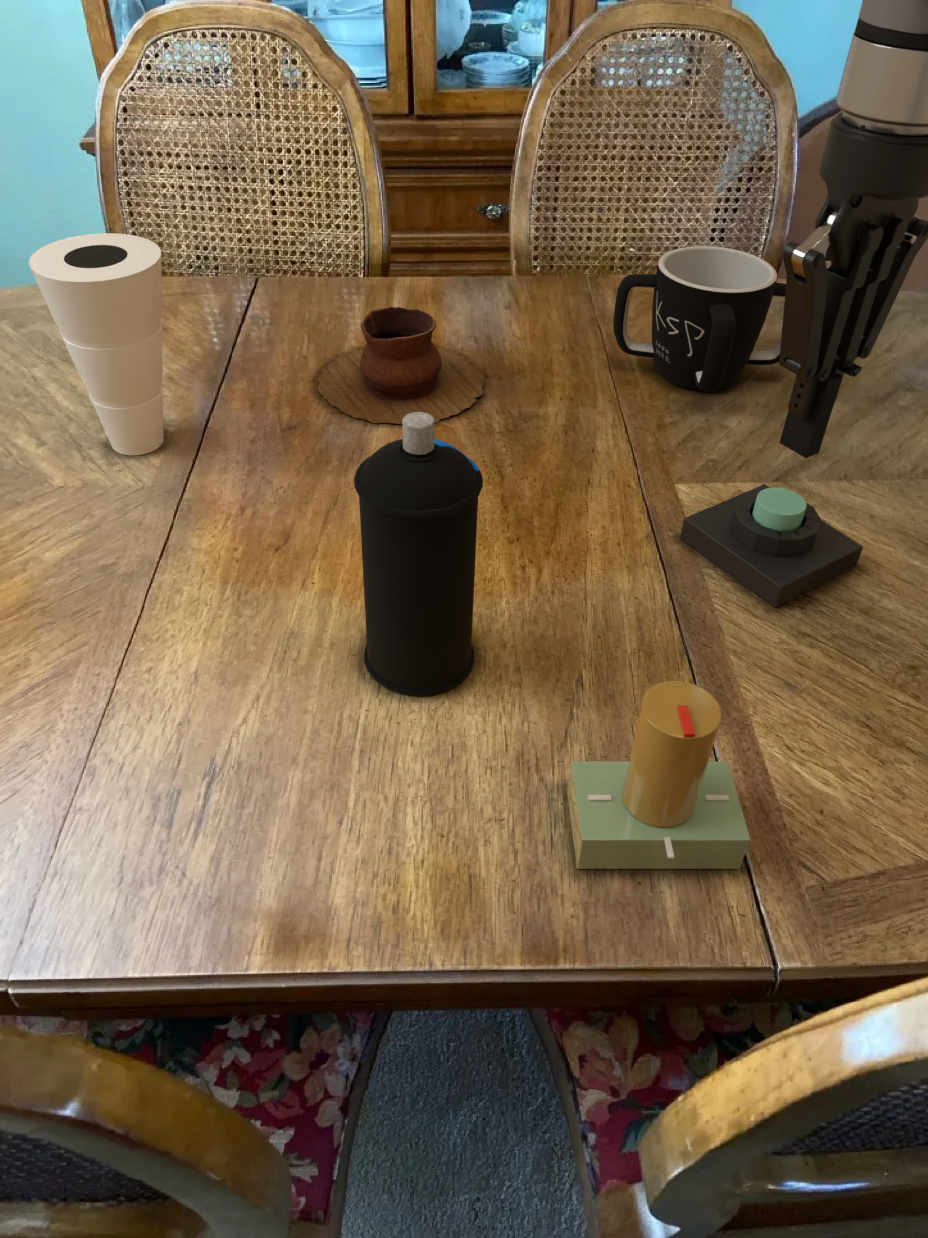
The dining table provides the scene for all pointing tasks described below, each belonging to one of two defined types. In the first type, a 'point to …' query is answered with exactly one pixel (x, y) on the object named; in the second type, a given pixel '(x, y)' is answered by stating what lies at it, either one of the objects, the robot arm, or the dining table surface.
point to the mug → (703, 315)
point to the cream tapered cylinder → (111, 328)
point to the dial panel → (632, 844)
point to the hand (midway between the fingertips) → (799, 447)
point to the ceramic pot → (400, 372)
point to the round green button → (779, 509)
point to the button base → (770, 548)
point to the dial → (670, 752)
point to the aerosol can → (418, 559)
